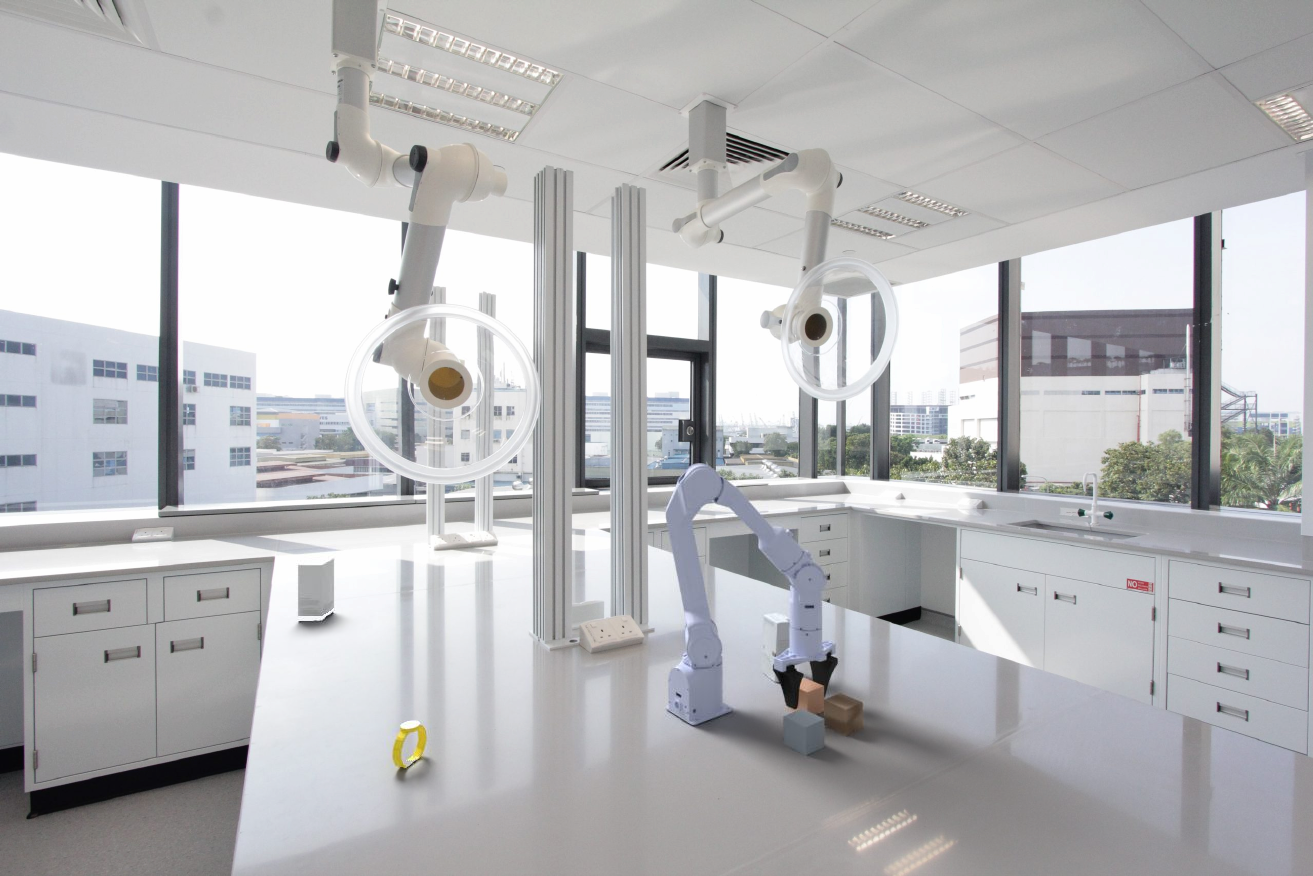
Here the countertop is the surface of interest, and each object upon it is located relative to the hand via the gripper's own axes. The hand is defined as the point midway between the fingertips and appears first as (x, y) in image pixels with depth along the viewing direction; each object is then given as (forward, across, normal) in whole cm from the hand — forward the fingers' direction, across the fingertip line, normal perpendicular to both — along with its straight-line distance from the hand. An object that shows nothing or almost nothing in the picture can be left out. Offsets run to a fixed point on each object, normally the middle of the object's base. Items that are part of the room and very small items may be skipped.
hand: (805, 701), depth 108 cm
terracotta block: (+2, 0, 0) cm, 2 cm away
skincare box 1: (+2, -64, +115) cm, 132 cm away
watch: (+2, -62, +24) cm, 67 cm away
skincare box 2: (+2, +7, +13) cm, 15 cm away
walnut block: (+2, 0, -8) cm, 8 cm away
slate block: (+2, -10, -8) cm, 13 cm away
